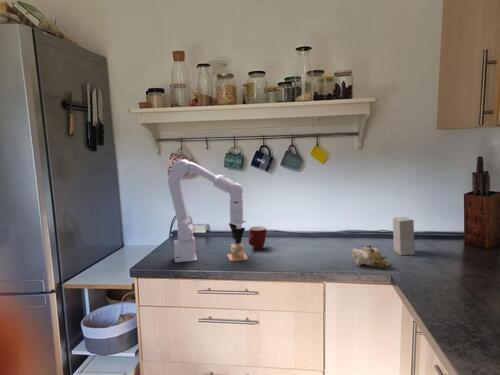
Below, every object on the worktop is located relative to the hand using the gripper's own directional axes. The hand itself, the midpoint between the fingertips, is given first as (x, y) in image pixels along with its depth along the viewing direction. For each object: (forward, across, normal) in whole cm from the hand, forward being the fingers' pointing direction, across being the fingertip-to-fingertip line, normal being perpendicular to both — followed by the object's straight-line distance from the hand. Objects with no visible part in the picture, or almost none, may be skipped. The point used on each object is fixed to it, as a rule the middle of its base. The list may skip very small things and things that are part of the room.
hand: (236, 241), depth 159 cm
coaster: (+8, 0, 0) cm, 8 cm away
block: (+7, 0, 0) cm, 7 cm away
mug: (+8, +10, -11) cm, 17 cm away
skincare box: (+7, -12, -74) cm, 75 cm away
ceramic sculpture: (+8, -23, -52) cm, 57 cm away
